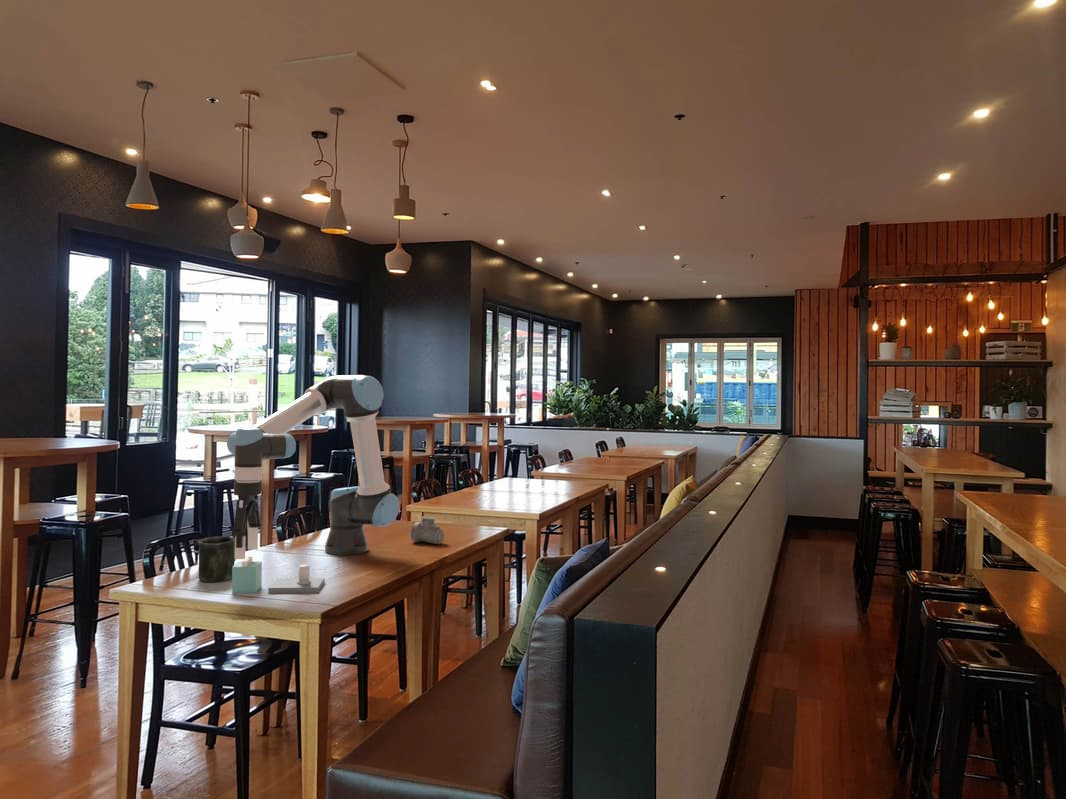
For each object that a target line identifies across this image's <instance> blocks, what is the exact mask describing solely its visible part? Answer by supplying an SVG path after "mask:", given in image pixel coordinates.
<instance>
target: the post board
mask: <svg viewBox="0 0 1066 799" xmlns="http://www.w3.org/2000/svg"><path fill="white" fill-rule="evenodd" d="M310 568H311V567H310V565H309V564H301V565H299V566H298V577H297V578H295V577H294V578H290V577H289V578H287V577H286V578H282V577H281V578H276V579H275V580H274V581H273V583H271V585H270V586H269V587H268V588H267V590H268V591H267V593H268V594H303V593H304V594H314V593H315V594H316V593H317V594H318V593H319V592H320V590H321V589H322V587H324V585H325V582H326V578H325V577H316V578H315V577H310Z"/></svg>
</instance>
